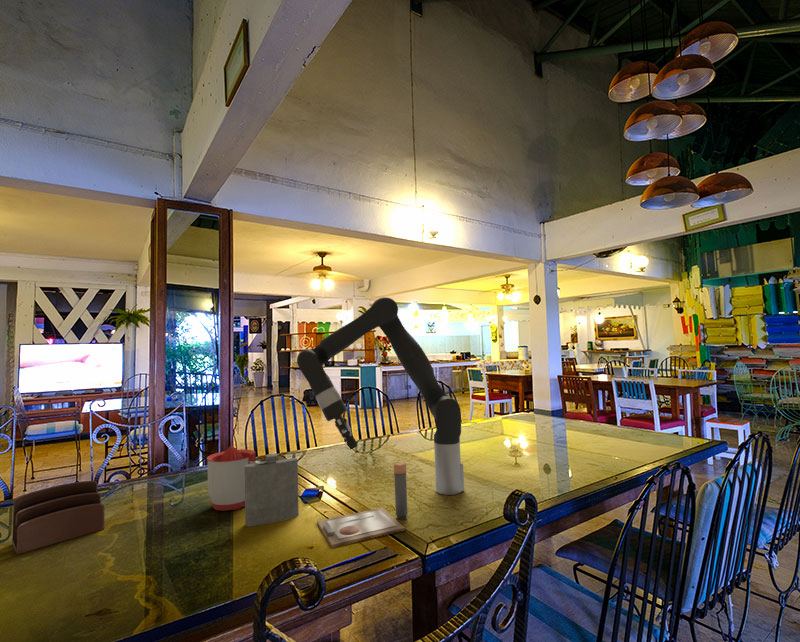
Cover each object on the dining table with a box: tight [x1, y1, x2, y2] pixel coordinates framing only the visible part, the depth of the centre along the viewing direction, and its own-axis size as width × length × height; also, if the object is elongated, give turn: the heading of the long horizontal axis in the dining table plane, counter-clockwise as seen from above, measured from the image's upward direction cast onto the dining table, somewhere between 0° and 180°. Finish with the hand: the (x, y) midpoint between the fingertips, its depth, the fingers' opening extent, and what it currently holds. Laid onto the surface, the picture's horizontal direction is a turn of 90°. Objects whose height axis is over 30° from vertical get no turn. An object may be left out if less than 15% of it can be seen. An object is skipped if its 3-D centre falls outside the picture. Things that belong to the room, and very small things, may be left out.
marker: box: [393, 462, 408, 521], centre depth 127 cm, size 4×4×16 cm
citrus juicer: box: [206, 445, 257, 512], centre depth 143 cm, size 16×17×20 cm
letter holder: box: [11, 480, 106, 555], centre depth 123 cm, size 10×20×14 cm, turn 138°
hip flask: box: [244, 453, 300, 527], centre depth 129 cm, size 16×4×20 cm, turn 115°
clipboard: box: [316, 507, 406, 549], centre depth 121 cm, size 21×17×2 cm
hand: (354, 447), depth 137 cm, fingers open, 8 cm apart
